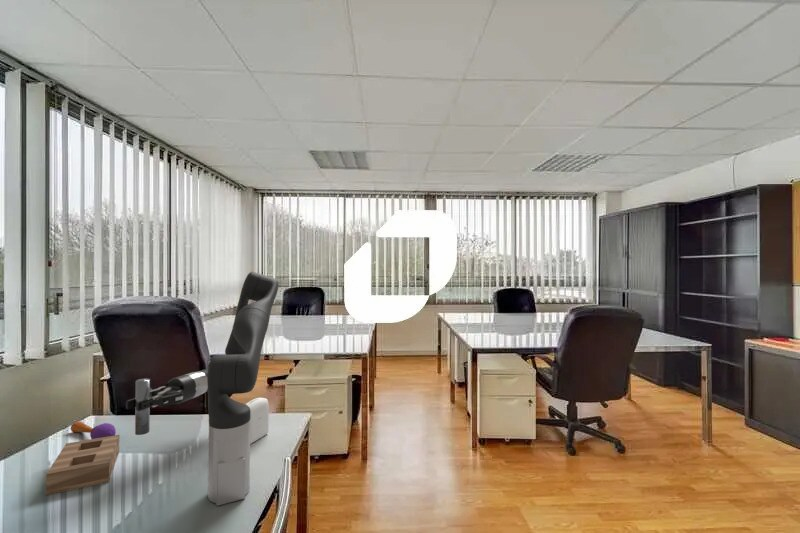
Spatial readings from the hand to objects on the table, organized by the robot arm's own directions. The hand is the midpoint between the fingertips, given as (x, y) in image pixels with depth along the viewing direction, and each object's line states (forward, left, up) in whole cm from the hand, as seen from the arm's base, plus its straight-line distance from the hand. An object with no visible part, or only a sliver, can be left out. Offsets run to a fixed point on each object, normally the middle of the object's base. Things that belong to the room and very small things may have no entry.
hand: (132, 406), depth 101 cm
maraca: (+32, +13, -18) cm, 39 cm away
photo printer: (+7, -32, -18) cm, 37 cm away
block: (+7, +10, -18) cm, 22 cm away
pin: (+2, -2, -8) cm, 8 cm away
